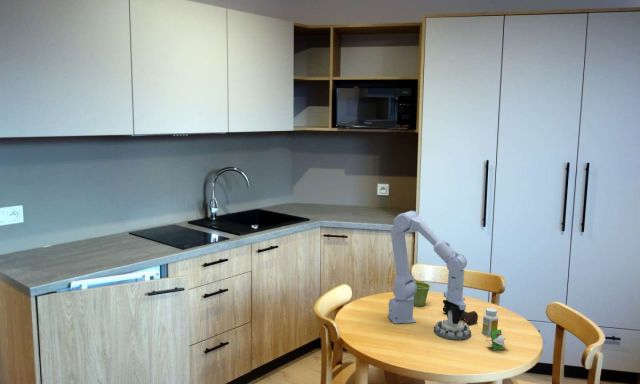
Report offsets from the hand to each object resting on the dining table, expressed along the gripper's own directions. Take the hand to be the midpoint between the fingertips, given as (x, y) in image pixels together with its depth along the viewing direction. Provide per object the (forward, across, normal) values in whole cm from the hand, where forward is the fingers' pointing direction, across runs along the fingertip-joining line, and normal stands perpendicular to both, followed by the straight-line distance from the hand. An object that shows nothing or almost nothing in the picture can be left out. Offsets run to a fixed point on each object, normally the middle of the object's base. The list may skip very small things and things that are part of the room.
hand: (452, 321), depth 202 cm
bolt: (+5, +13, -9) cm, 17 cm away
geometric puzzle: (+5, -15, -10) cm, 19 cm away
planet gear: (+3, 0, 0) cm, 3 cm away
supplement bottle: (+5, -3, -14) cm, 15 cm away
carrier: (+5, 0, 0) cm, 5 cm away
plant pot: (+5, +31, +1) cm, 31 cm away
